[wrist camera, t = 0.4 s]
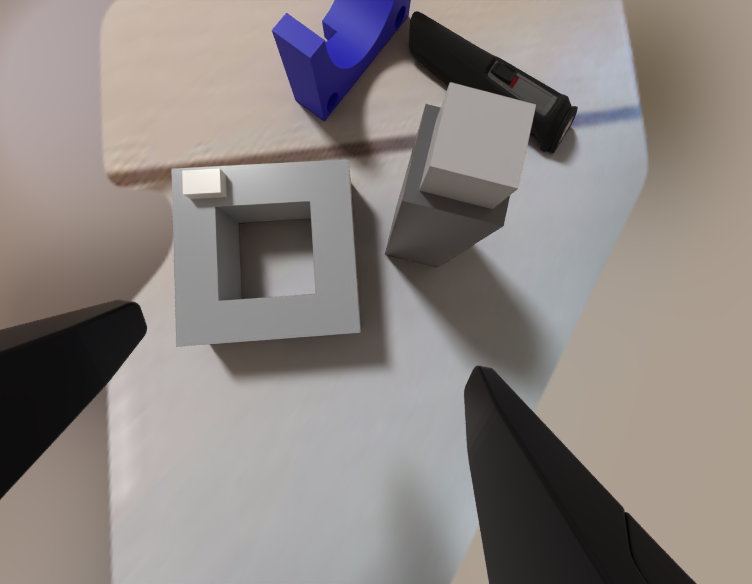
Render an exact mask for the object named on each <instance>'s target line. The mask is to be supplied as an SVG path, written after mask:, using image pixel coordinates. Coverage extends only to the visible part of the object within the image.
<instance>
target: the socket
mask: <svg viewBox="0 0 752 584" xmlns="http://www.w3.org/2000/svg"><path fill="white" fill-rule="evenodd" d="M172 201H173V239H174V277H175V315H176V347H180V346H193V345H206V344H219V343H232V342H245V341H258V340H271V339H284V338H297V337H310V336H323V335H336V334H349V333H360V332H361V318H360V304H359V290H358V275H357V261H356V247H355V232H354V218H353V204H352V189H351V178H350V170H349V162H348V160H330V161H311V162H292V163H273V164H254V165H235V166H217V167H198V168H179V169H172ZM294 219H311V225H312V241H313V258H314V275H315V292H316V294H308V295H293V296H279V297H265V298H251V299H242V290H241V266H240V242H239V223H245V222H261V221H278V220H294Z"/></svg>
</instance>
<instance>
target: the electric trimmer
mask: <svg viewBox="0 0 752 584" xmlns="http://www.w3.org/2000/svg"><path fill="white" fill-rule="evenodd" d="M409 47H410V51H411V53H412V54H413V55H414V56H415V57H416V58H417V59H419V60H420V61H421V62H422V63H423V64H424V65H425V66H427V67H428V68H429V69H430V70H431V71H432V72H434V73H435V74H436V75H437V76H438V77H439V78H440V79H442V80H443V81H444V82H445V83H446V84H447V85H448V86H449V84H450V82H451V83H455V84H459V85H463V86H467V87H470V88H474V89H478V90H482V91H486V92H490V93H493V94H497V95H501V96H505V97H509V98H513V99H516V100H520V101H524V102H528V103H532V104H536V107H535V112H534V117H533V122H532V126H531V131H530V133H531V134H533V135H534V136H536V137H537V138H539V139H540V141H541V150H542V151H543V152H545V151H547V150H549V149H550V152H552V153H554V152H555V150H556V149H557V147H558V145H559V144H560V142H561V141H562V139H563V137H564V136H565V134H566V132H567V131H568V129H569V128H570V126H571V124H572V122H573V120H574V118H575V115H576V113H577V109H578V107H576V106H571V103H570V101H569V98H568V96H566V95H563V94H560V93H559V92H557V91H555V90H554V89H552V88H550V87H549V86H547V85H545V84H543V83H542V82H540V81H538V80H537V79H535V78H533V77H531V76H530V75H528V74H526V73H525V72H523V71H521V70H519V69H518V68H516V67H514V66H513V65H511V64H509V63H507V62H506V61H504V60H502V59H501V58H499V57H496V56H494V55H492V54H490V53H488V52H486V51H485V50H483V49H481V48H479V47H477V46H476V45H474V44H472V43H471V42H469V41H467V40H466V39H464V38H462V37H461V36H459V35H457V34H456V33H454V32H452V31H451V30H449V29H447V28H446V27H444V26H442V25H441V24H439V23H437V22H436V21H434V20H432V19H431V18H429V17H427V16H426V15H424V14H422V13H420V12H417V11H416V12H414V13H413V14H412V17H411V21H410V29H409ZM561 123H562V124H561ZM558 129H559V130H558ZM553 140H554V141H553Z"/></svg>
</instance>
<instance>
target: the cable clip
mask: <svg viewBox="0 0 752 584" xmlns="http://www.w3.org/2000/svg"><path fill="white" fill-rule="evenodd" d="M410 1H411V0H335V1H334V3H333V5H332V7H331V9H330V10H329V12H328V14H327V15H326V16H325V18H324V19H323V20H322V23H323V30H324V36H325V38H327V39H328V41H327V42H325V40H324V39H322V38H321V37H319V36H318V35H317V34H315V33H314V32H312V31H311V30H310V29H308V28H307V27H306V26H304V25H303V24H301V23H300V22H299V21H297V20H296V19H294V18H293V17H292V16H290V15H289V14H288V13H286V14H285V15H284V16H283V18H282V19H281V20H280V21H279V22H278V24H277V25H276V26H275V27H274V28H273V29H272V32H273V35H274V38H275V41H276V44H277V47H278V50H279V53H280V56H281V59H282V62H283V65H284V68H285V71H286V74H287V77H288V80H289V82H290V85H291V88H292V91H293V94H294V97H295V100H296V101H297V102H299V103H300V104H301V105H303V106H304V107H305V108H307V109H308V110H310V111H311V112H312V113H314V114H315V115H316V116H318V117H319V118H321V119H322V120H323V121H325V120H326V119H327V117H328V116H329V115H330V114H331V112H332V111H333V110H334V109H335V107H336V106H337V105H338V104H339V102H340V101H341V100H342V99H343V97H344V96H345V95H346V94H347V92H348V91H349V90H350V89H351V87H352V86H353V85H354V84H355V82H356V81H357V80H358V79H359V77H360V76H361V75H362V74H363V72H364V71H365V70H366V69H367V67H368V66H369V65H370V64H371V62H372V61H373V60H374V59H375V57H376V56H377V55H378V54H379V52H380V51H381V50H382V49H383V47H384V46H385V45H386V44H387V42H388V41H389V40H390V39H391V37H392V36H393V35H394V34H395V32H396V31H397V30H398V29H399V27H400V26H401V25H402V24H403V22H404V21H405V20H406V19H407V17H408V15H409V8H410Z"/></svg>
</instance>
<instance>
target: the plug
mask: <svg viewBox="0 0 752 584" xmlns="http://www.w3.org/2000/svg"><path fill="white" fill-rule="evenodd" d="M535 107H536V104H532V103H528V102H524V101H520V100H516V99H513V98H509V97H505V96H501V95H497V94H493V93H490V92H486V91H482V90H478V89H474V88H470V87H467V86H463V85H459V84H455V83H451V82H450V84H449V86H448V89H447V92H446V95H445V97H444V100H443V103H442V106H441V108H439V107H435V106H432V105H428V104H426V105H425V108H424V112H423V115H422V119H421V122H420V126H419V129H418V133H417V136H416V140H415V143H414V147H413V150H412V154H411V157H410V161H409V164H408V168H407V171H406V175H405V178H404V182H403V185H402V189H401V192H400V196H399V199H398V203H397V207H396V211H395V215H394V219H393V223H392V227H391V231H390V235H389V240H388V244H387V248H386V252H385V254H386V255H390V256H394V257H398V258H402V259H406V260H410V261H414V262H418V263H422V264H426V265H430V266H434V267H439V266H440V265H442V264H443V263H445V262H447V261H448V260H450V259H451V258H453V257H455V256H456V255H458V254H459V253H461V252H463V251H464V250H466V249H468V248H469V247H471V246H472V245H474V244H476V243H477V242H479V241H480V240H482V239H484V238H485V237H487V236H488V235H490V234H492V233H493V232H495V231H497V230H498V229H500V228H501V227H503V226H504V221H505V216H506V212H507V207H508V202H509V198H510V195H511V194H512V193H513V192H515V191H516V190H517V189H518V187H519V183H520V178H521V173H522V169H523V164H524V159H525V154H526V150H527V145H528V140H529V136H530V131H531V126H532V122H533V117H534V112H535Z"/></svg>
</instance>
